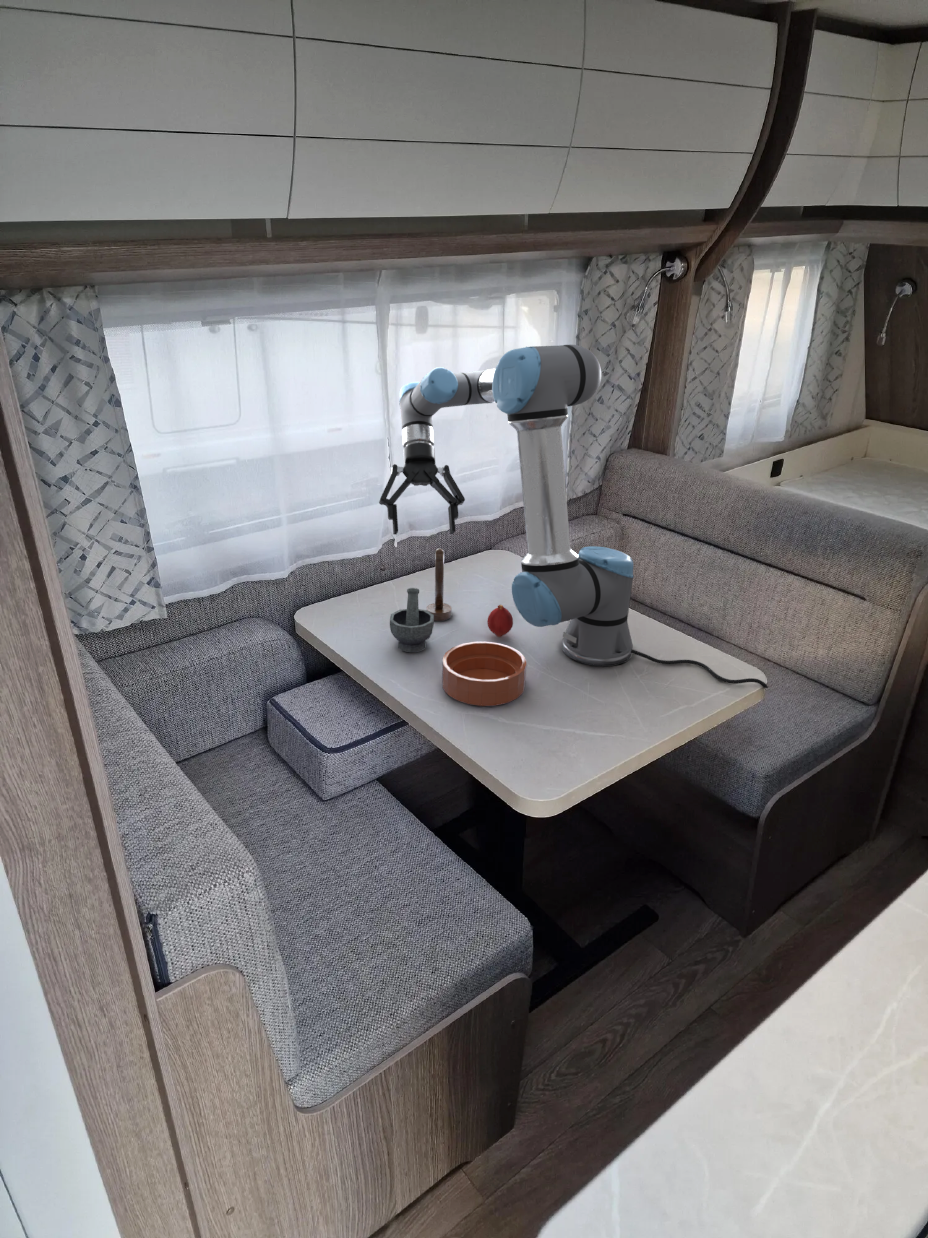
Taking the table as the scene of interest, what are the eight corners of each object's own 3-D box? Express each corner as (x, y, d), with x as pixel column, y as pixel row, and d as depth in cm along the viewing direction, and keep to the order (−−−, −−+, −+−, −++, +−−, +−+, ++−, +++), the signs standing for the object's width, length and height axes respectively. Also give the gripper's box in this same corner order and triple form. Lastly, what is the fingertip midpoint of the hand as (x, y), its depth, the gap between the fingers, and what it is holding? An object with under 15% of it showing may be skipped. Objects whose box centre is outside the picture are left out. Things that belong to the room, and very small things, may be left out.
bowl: (530, 672, 170) (532, 647, 168) (517, 713, 156) (518, 686, 153) (453, 662, 174) (453, 637, 171) (433, 702, 159) (433, 675, 156)
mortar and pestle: (432, 656, 176) (432, 606, 170) (388, 655, 175) (387, 605, 170) (434, 633, 186) (434, 585, 181) (393, 632, 186) (392, 583, 180)
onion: (491, 629, 188) (492, 597, 185) (515, 633, 187) (517, 601, 183) (483, 639, 183) (484, 607, 180) (508, 644, 182) (509, 611, 178)
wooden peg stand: (454, 611, 196) (455, 545, 189) (448, 622, 191) (449, 554, 184) (430, 609, 198) (430, 542, 190) (423, 619, 192) (423, 551, 185)
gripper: (465, 454, 202) (472, 536, 198) (364, 452, 196) (369, 537, 192) (472, 442, 195) (479, 527, 191) (368, 440, 189) (373, 527, 185)
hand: (424, 532), depth 192 cm, fingers open, 13 cm apart
